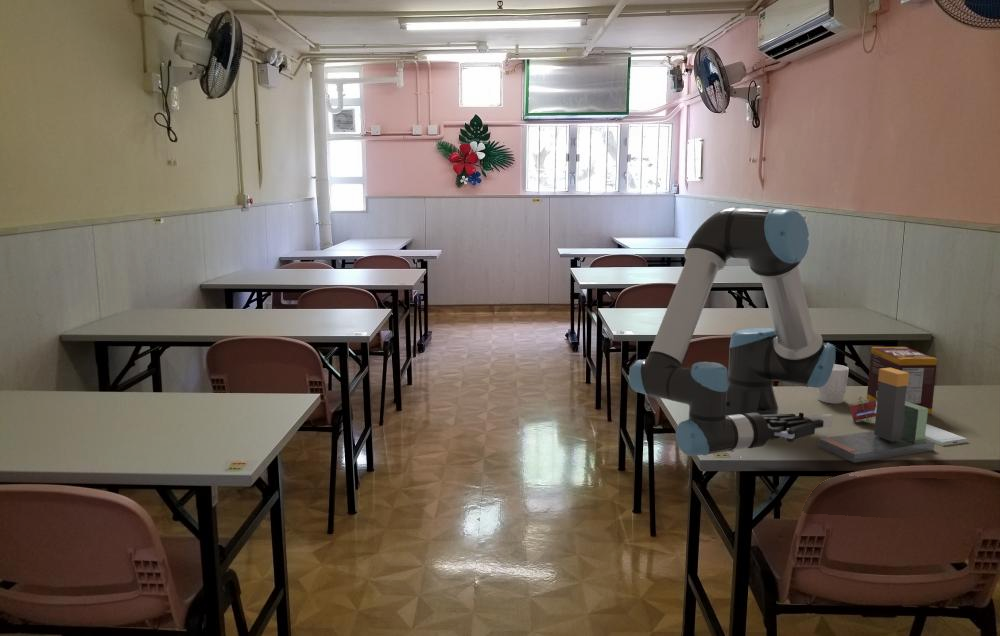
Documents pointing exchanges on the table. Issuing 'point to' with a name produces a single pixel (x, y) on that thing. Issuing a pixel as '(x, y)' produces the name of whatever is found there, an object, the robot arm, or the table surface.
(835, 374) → the white cup
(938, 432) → the hard drive
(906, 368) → the supplement box
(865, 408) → the geometric puzzle
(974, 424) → the table surface
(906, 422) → the grey base stand
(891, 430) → the lever
